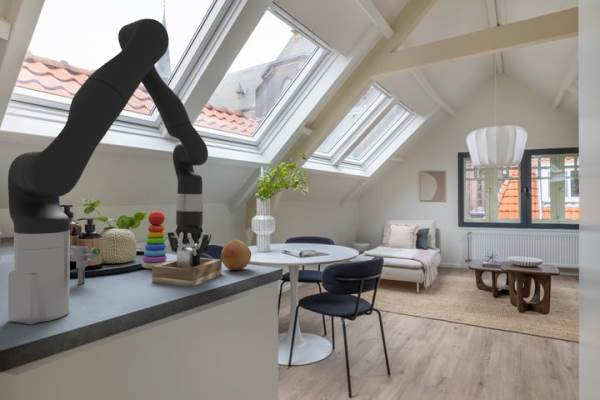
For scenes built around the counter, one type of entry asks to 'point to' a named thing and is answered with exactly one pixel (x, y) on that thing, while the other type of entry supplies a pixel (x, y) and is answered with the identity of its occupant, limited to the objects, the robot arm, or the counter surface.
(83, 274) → the mechanical component
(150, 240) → the stacking toy
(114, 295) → the counter surface
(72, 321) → the counter surface
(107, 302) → the counter surface
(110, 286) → the counter surface
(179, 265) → the white block
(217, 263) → the brown wooden tray
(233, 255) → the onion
